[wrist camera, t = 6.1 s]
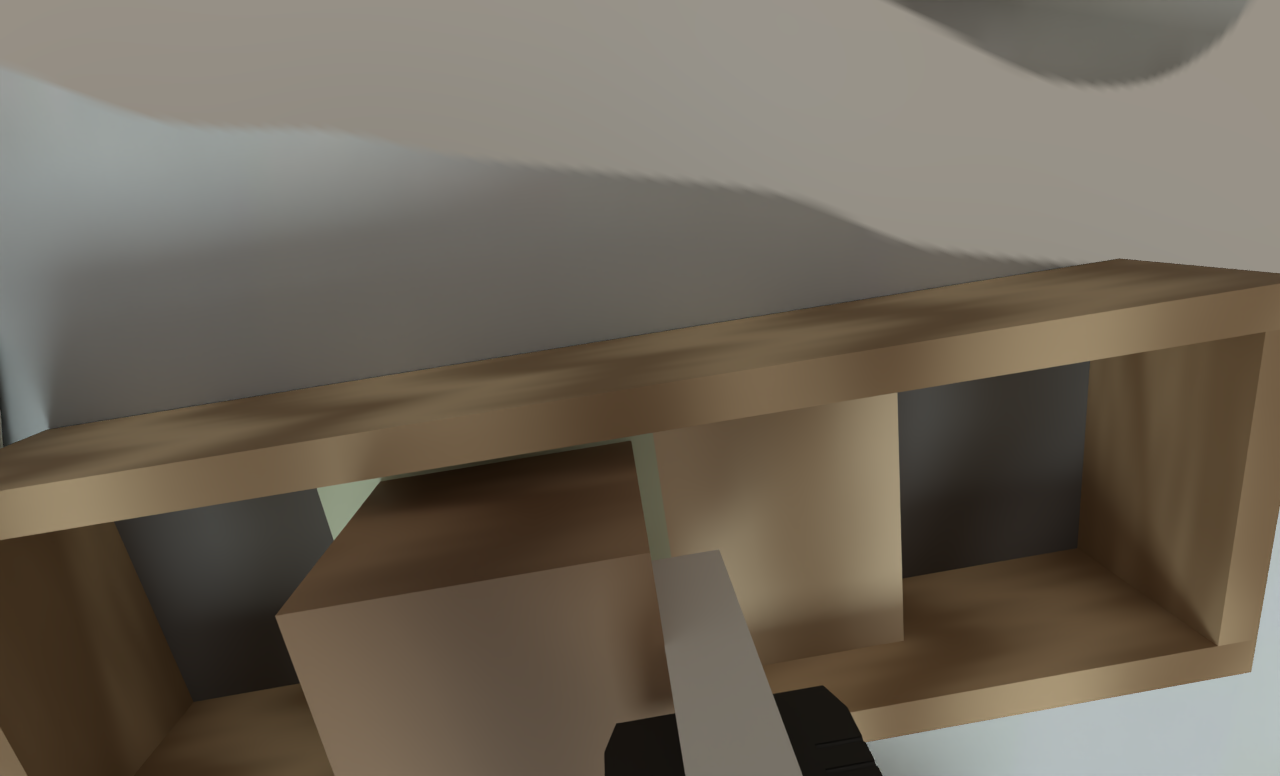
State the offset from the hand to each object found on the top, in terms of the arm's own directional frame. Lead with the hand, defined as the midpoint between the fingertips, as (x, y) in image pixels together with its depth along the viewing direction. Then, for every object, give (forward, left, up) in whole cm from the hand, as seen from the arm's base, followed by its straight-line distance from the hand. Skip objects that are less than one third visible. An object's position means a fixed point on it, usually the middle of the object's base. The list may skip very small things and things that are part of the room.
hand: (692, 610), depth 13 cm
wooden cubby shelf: (-1, 0, -5) cm, 6 cm away
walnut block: (-4, 0, -2) cm, 4 cm away
